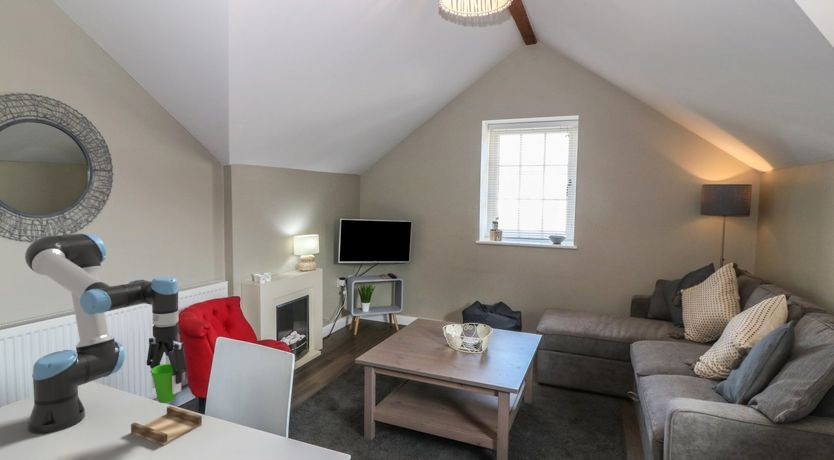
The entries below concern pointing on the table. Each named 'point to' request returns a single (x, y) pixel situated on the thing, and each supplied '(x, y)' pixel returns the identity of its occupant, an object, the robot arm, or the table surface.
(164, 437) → the wooden tray
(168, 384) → the cup
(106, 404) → the table surface
